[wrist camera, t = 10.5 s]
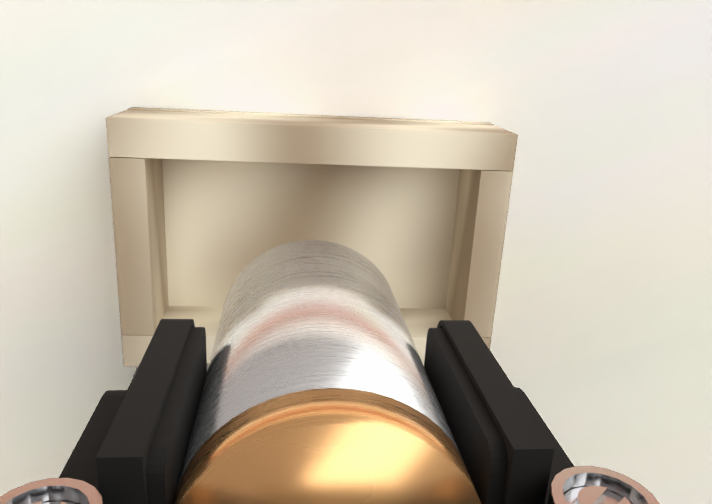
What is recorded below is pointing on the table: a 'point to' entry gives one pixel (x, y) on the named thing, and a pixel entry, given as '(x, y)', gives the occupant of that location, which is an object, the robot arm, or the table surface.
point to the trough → (304, 209)
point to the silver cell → (318, 393)
